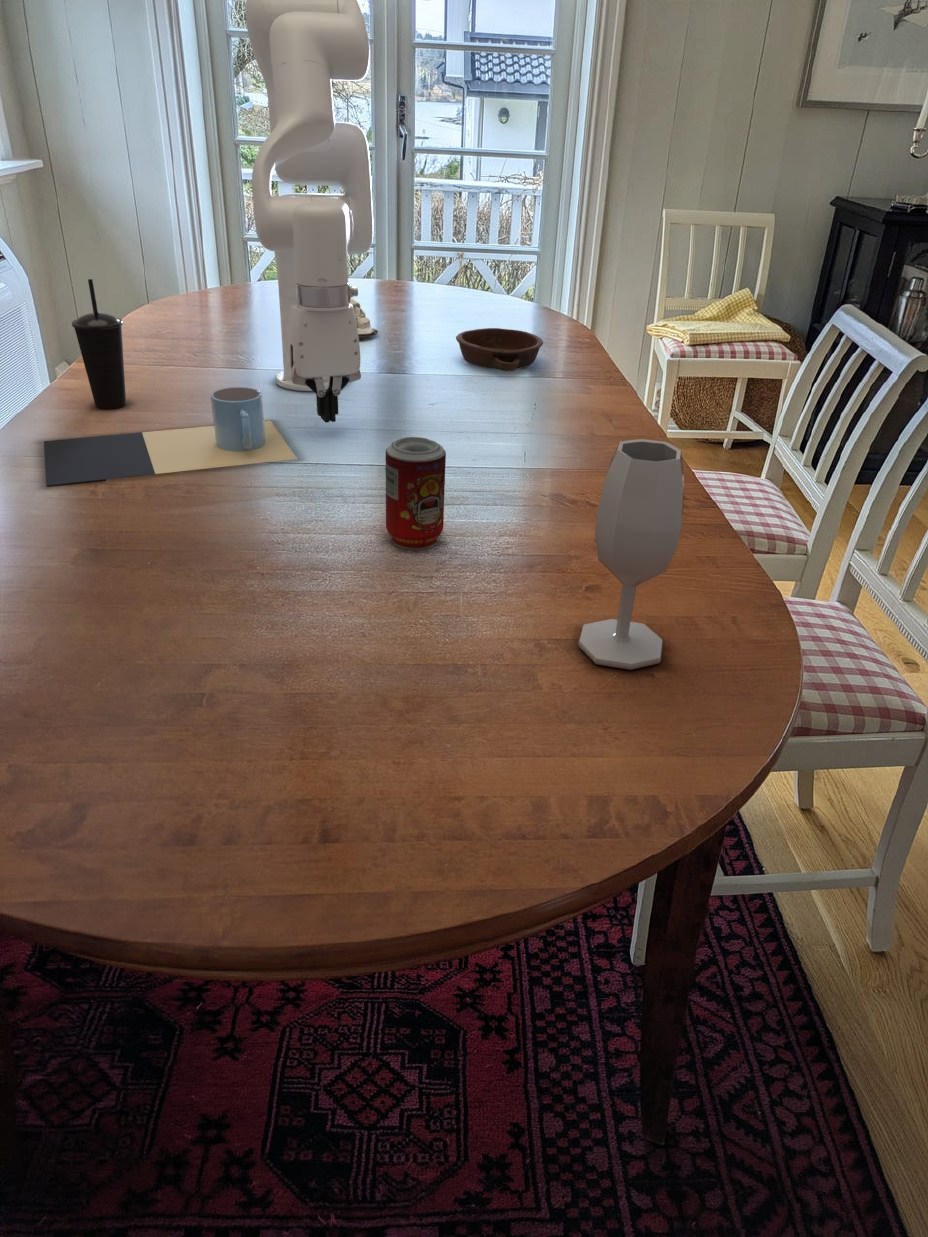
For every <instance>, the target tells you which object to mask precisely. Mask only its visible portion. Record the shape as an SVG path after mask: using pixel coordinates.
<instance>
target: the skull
mask: <svg viewBox="0 0 928 1237" xmlns="http://www.w3.org/2000/svg"><path fill="white" fill-rule="evenodd" d="M349 304H351V305H352V306H353V308H354V313H355V317H356V323H357V329H358V337H359V339H361V338H366V337H367V338H368V337H372V336H376V335H378V333H379V330H378V329H377V328H373V327H372V325H371V320H370V319H369V318H368V317H367V316H366V312H365V311H363V309H362V308H361V304H360V303H359V302H358V301H357V300H356V299H355V298H353V297H351V299H350V303H349Z"/></svg>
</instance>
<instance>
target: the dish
mask: <svg viewBox="0 0 928 1237" xmlns="http://www.w3.org/2000/svg"><path fill="white" fill-rule="evenodd" d="M455 340H456V342H457V343H458V344H459V345H458V346H459V350H460V352H461V355H462V358H463V360H464V361H465V362H466V363H468V364H470V365H473V366H475V367H476V366H477V367H479V368H484V369H491V370H499V371H503V372H514V371H515V370H519V369H520V370H521V369H524V368H527V367H529V366H531V365H532V364H533V363H534V362H535V361H536V359H537V357H538V354H539V351H540V348H541V347H542V346H543V345H544V341H543V339H542V338H541V337H540V336H538V335H537V334H534V333H530V332H528V331H523V330H518V329H508V328H500V327H486V328H476V329H470V330H465V331H462V332H460V333H458V334H457V335H456V337H455Z"/></svg>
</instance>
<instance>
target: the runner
mask: <svg viewBox="0 0 928 1237" xmlns="http://www.w3.org/2000/svg"><path fill="white" fill-rule="evenodd" d="M264 428H265V441H266V442H265V444H264V445H263V446H262V447H260V448H257V449H253V450H248V451H229V450H224V449H221V448H219V447H217V445H216V442H215V433H214V425H207V426H198V427H197V426H195V427H186V428H184V427H183V428H173V429H163V430H152V431H142V432H131V433H120V434H108V435H107V434H106V435H97V436H86V437H75V438H64V439H52V440H44V441H43V447H44V448H43V450H44V467H45V468H44V470H45V486H46V488H47V487H48V488H49V487H56V486H58V487H59V486H68V485H77V484H84V483H85V484H86V483H94V482H104V481H105V482H106V481H107V480H114V479H123V478H132V477H133V478H134V477H141V476H142V477H143V476H152V475H159V474H170V473H171V474H172V473H180V472H188V471H198V470H207V469H217V468H226V467H235V466H236V467H237V466H245V465H255V464H263V463H272V462H273V463H274V462H282V461H283V462H284V461H292V460H293V461H294V460H298V458H297V457H296V455H295V453H293V451H292V449H291V448H290V447H289V445H288V443H287V441H285V439H284V438H283V436H282V435H281V433H280V431H279V430H278V429H277V428H276V426H275V425H274V423H273V422H272V421H271V420H264Z"/></svg>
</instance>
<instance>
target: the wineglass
mask: <svg viewBox="0 0 928 1237" xmlns="http://www.w3.org/2000/svg"><path fill="white" fill-rule="evenodd" d="M615 449H616V450H615V452H614V454H613V456H612V458H611V460H610V463H609V466H608V470H607V473H606V476H605V480H604V484H603V488H602V490H601V495H600V498H599V502H598V506H597V513H596V519H595V528H594V538H595V546H596V552H597V558H598V559H597V560H598V561H599V562H600V564H602V565H603V566H604V567H605V568H606V569H607V570H608V571H609V572H610V573H611V574H612V575H613V576H614V577H615V578H616V579H617V580H618V581H619V582H620V583H621V584H622V585H621V592H620V600H619V606H618V613H617V619H616V618H609V619H604V620H598V621H594V622H589V623H585V624H584V623H583V625H582V628H581V631H580V635H579V639H578V643H577V645H578V648H579V649H580V650H581V651H582V652H583V653H584V654H585V655H586V656H587V657H588V658H589V659H590V660H591V661H592V662H593V663H594V664H595V665H600V666H605V667H612V668H618V669H624V670H631V671H632V670H636V669H640V668H644V667H645V668H646V667H649V666H653V665H657V664H661V661H662V654H663V645H664V641H663V639H662V637H660V636H659V635H658V634H657V633H655V631H653V630H652V629H651V628H650V627H649V626H647V625H646V624H645V623H641V622H635V621H632V615H633V609H634V602H635V594H636V588H637V586H640V585H641V584H643V583H646V582H648V581H650V580H652V579H654V578H656V577H658V576H660V575H663V574H664V573H666V572H667V571H668V568H669V566H670V564H671V563H672V560H673V557H674V556H675V553H676V551H677V549H678V546H679V542H680V535H681V529H682V523H683V515H684V500H685V499H684V498H685V497H684V496H685V494H684V493H685V492H684V491H685V471H684V470H685V469H684V463H683V455H682V449H680V448H678V447H676V446H675V445H673V444H671V443H669V442H667V441H663V440H656V439H655V440H653V439H645V438H638V439H628V440H622V441H621V440H620V441H619V442H618V445H617V447H616V448H615Z"/></svg>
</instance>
